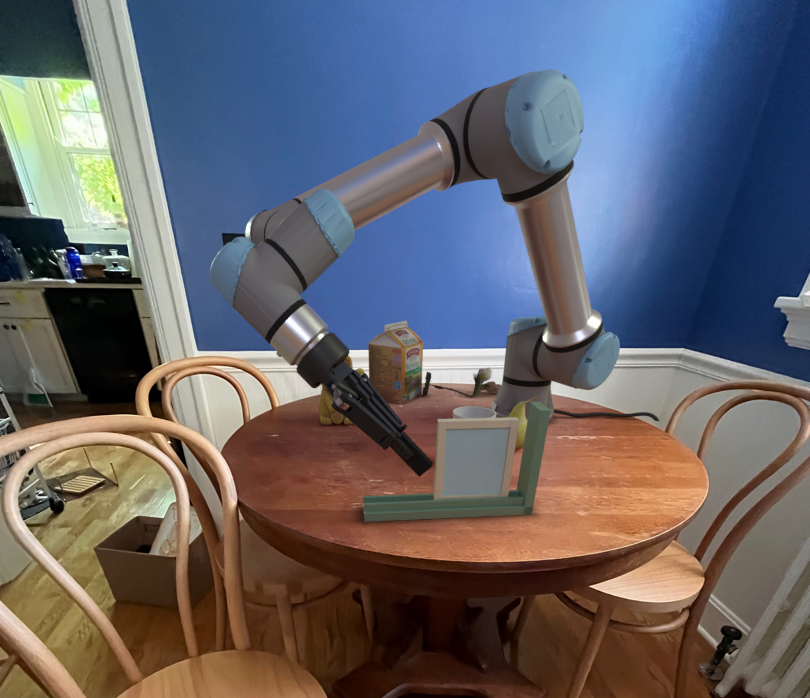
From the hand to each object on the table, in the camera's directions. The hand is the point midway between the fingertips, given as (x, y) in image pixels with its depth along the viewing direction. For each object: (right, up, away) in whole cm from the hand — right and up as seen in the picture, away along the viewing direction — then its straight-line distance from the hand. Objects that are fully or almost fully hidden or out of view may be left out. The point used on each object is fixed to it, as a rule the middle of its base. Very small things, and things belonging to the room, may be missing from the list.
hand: (426, 469), depth 73 cm
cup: (+10, +5, +22) cm, 25 cm away
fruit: (+20, +8, +28) cm, 36 cm away
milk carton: (-6, +30, +61) cm, 68 cm away
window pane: (+7, -5, +4) cm, 9 cm away
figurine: (-18, +18, +43) cm, 50 cm away
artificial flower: (+13, +31, +64) cm, 72 cm away
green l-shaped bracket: (+4, -6, +4) cm, 8 cm away
